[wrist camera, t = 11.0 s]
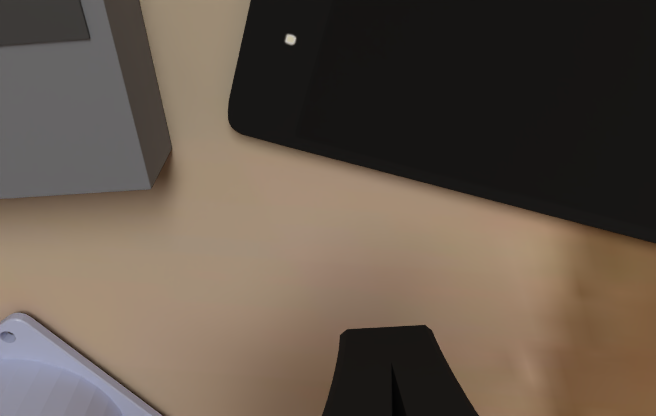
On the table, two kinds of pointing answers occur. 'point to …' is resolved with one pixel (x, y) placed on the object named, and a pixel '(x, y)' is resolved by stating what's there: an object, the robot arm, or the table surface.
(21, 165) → the switch panel
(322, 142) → the cell phone
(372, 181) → the table surface
